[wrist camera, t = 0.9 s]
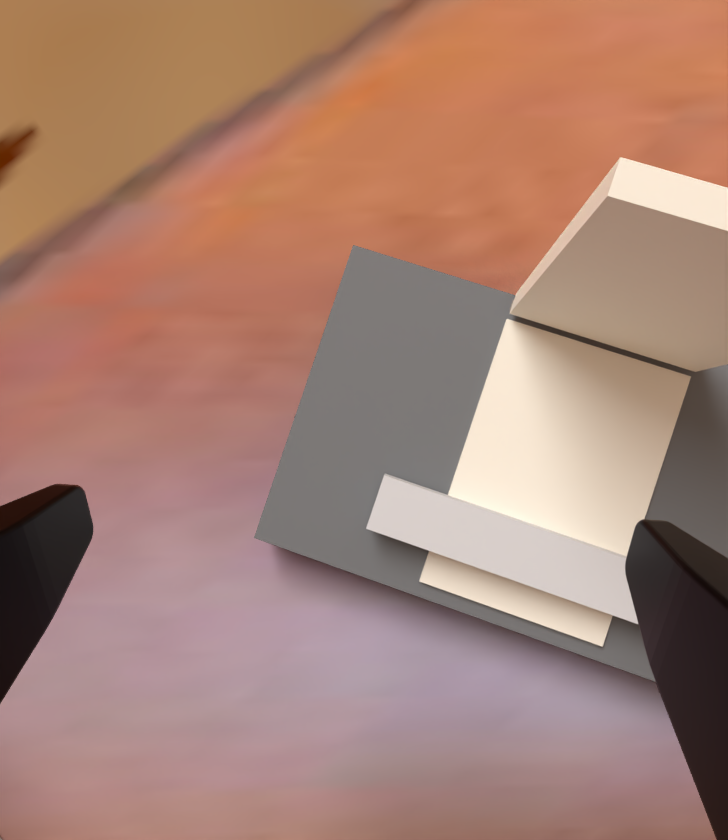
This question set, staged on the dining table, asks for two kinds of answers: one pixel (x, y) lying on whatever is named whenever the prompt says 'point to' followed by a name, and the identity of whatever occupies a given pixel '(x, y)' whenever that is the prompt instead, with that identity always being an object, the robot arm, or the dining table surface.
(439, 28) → the dining table surface
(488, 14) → the dining table surface
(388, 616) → the dining table surface
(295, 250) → the dining table surface
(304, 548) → the board
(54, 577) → the robot arm
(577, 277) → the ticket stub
